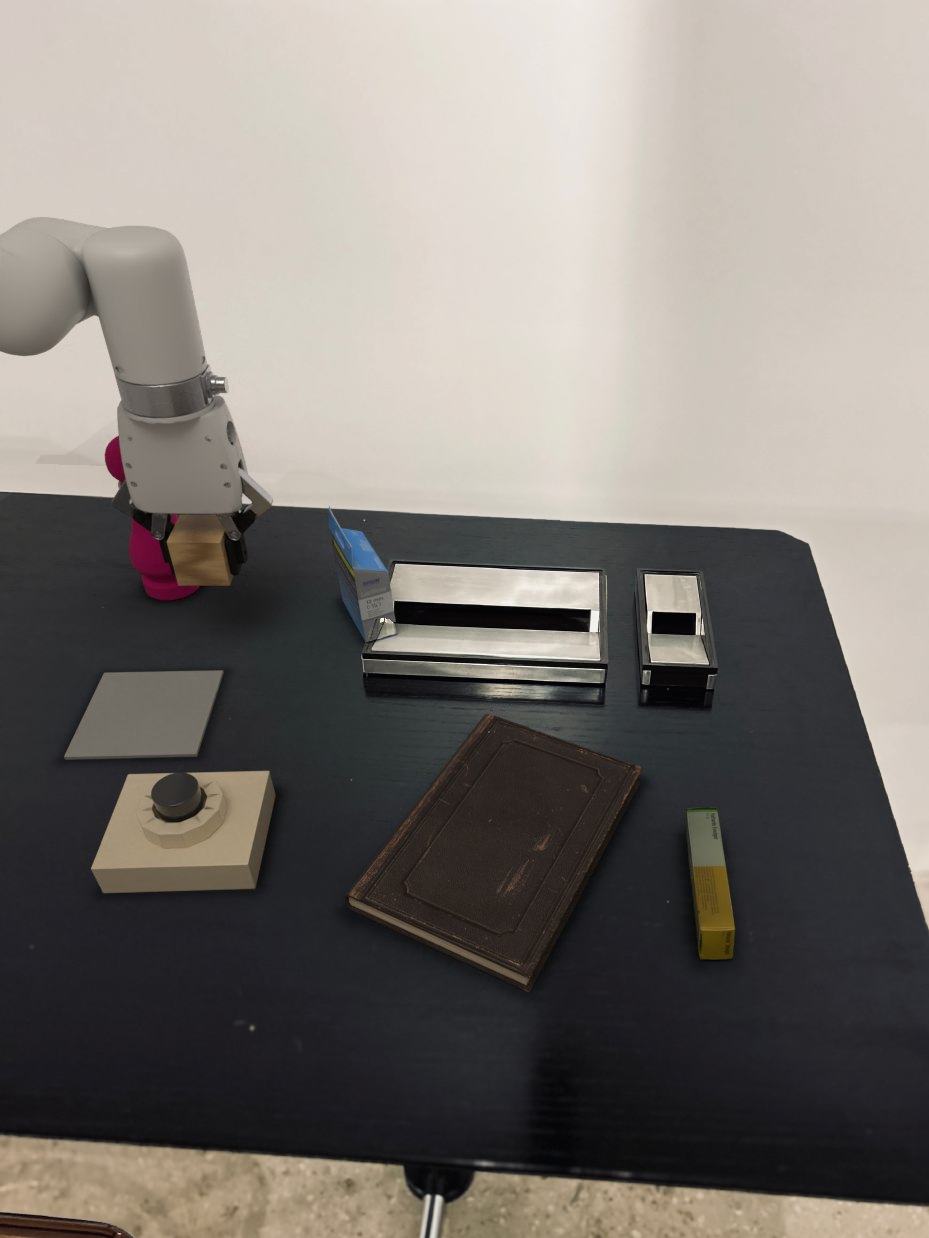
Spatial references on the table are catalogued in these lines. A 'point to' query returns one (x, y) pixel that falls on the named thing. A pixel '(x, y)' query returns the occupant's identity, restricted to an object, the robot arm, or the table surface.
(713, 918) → the medication box
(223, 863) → the dial knob box
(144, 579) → the pepper mill
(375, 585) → the label tape box
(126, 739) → the pad
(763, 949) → the table surface
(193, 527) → the block
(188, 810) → the button
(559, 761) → the hardcover book
